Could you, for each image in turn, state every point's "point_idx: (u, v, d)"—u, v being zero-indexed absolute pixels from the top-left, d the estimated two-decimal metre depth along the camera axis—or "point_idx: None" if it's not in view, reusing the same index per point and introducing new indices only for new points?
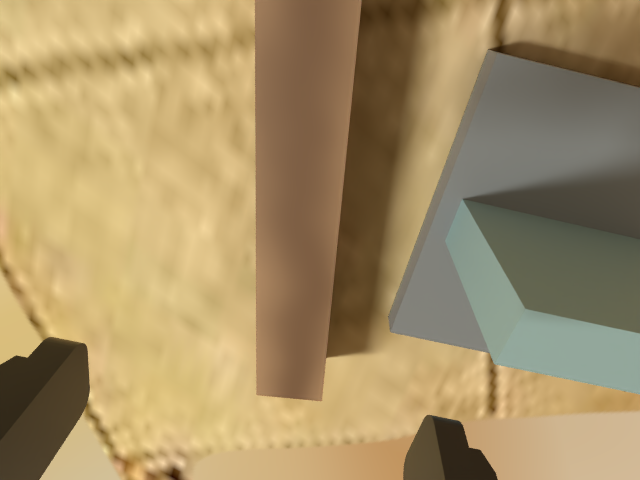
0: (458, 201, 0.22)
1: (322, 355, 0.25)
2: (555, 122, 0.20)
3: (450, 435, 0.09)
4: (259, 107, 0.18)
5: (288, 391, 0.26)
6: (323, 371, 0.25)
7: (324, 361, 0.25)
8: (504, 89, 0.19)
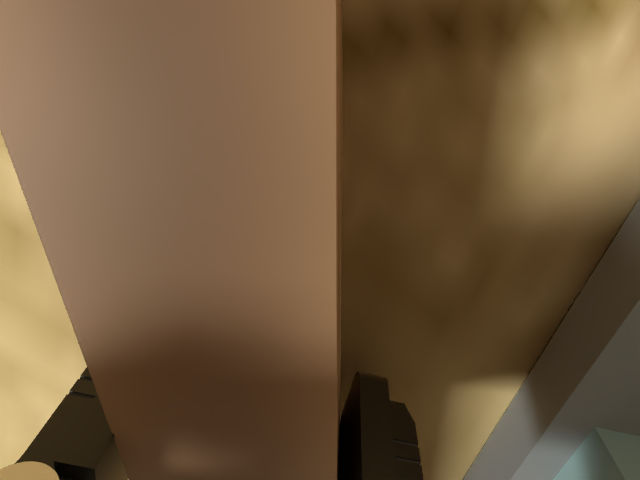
0: (585, 430, 0.10)
1: None
2: None
3: (373, 388, 0.10)
4: (79, 316, 0.07)
5: None
6: None
7: None
8: None
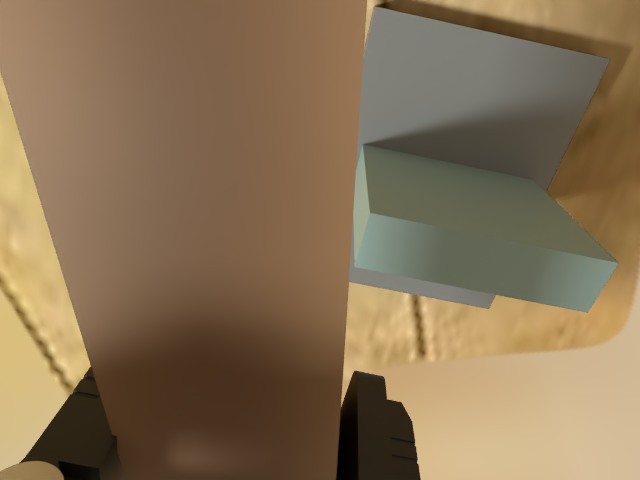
0: (359, 146, 0.25)
1: None
2: (435, 70, 0.22)
3: (370, 387, 0.10)
4: (88, 323, 0.07)
5: None
6: None
7: None
8: (386, 40, 0.22)
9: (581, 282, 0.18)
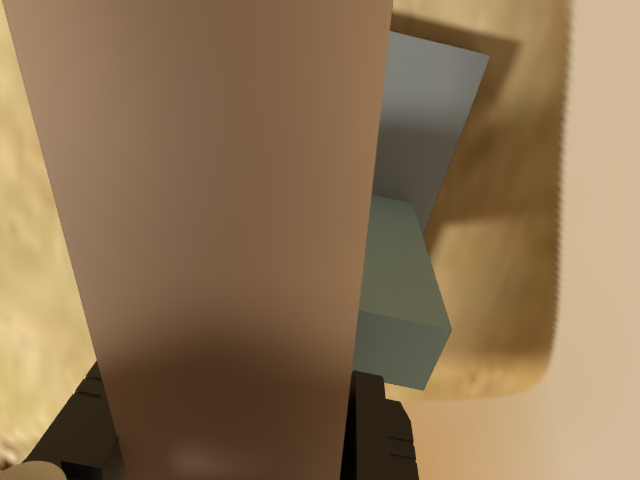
0: None
1: None
2: None
3: (369, 386, 0.10)
4: (98, 325, 0.07)
5: None
6: None
7: None
8: None
9: (407, 352, 0.13)
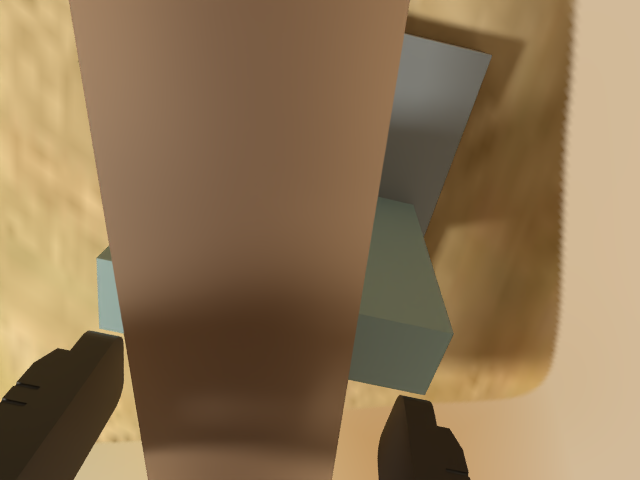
0: None
1: None
2: None
3: (419, 413, 0.10)
4: (126, 291, 0.07)
5: None
6: None
7: None
8: None
9: (408, 357, 0.13)
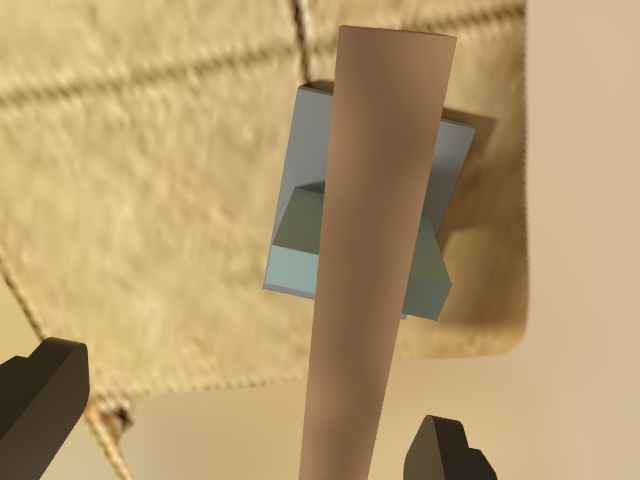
0: (292, 189, 0.32)
1: (365, 465, 0.25)
2: None
3: (450, 435, 0.09)
4: (323, 251, 0.19)
5: None
6: (366, 479, 0.25)
7: (367, 470, 0.25)
8: (307, 112, 0.29)
9: (428, 298, 0.24)
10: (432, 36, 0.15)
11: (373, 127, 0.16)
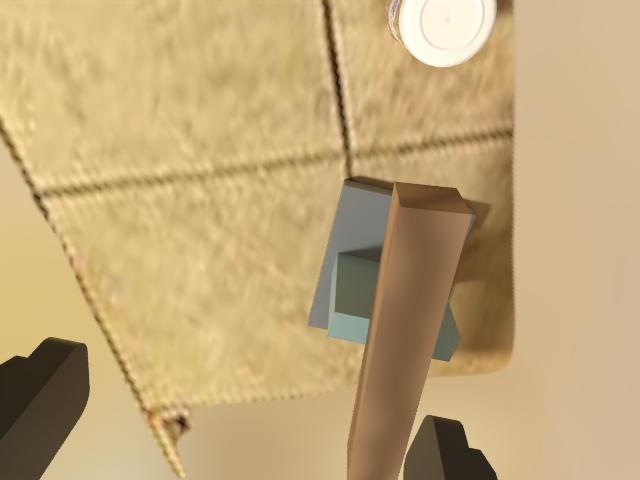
0: (335, 254, 0.41)
1: (398, 464, 0.35)
2: (378, 216, 0.39)
3: (450, 435, 0.09)
4: (379, 328, 0.29)
5: None
6: (398, 473, 0.36)
7: (399, 467, 0.35)
8: (350, 201, 0.39)
9: (443, 347, 0.34)
10: (456, 213, 0.25)
11: (417, 259, 0.26)
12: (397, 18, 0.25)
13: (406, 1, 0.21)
